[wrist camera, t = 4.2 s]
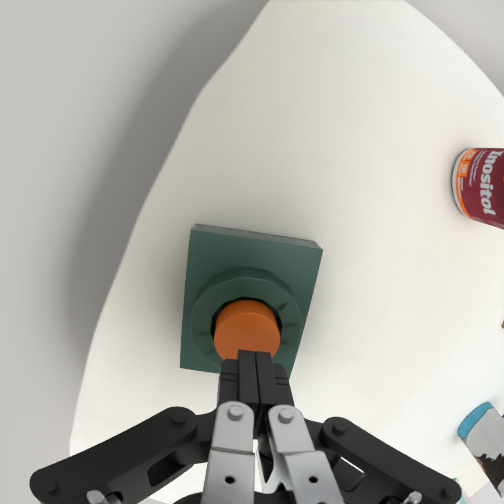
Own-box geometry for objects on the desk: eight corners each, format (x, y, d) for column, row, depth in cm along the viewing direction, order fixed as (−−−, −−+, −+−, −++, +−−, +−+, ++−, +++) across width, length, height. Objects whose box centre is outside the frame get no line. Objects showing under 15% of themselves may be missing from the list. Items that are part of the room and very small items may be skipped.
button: (219, 295, 17) (217, 308, 15) (281, 303, 17) (286, 317, 15) (213, 347, 17) (211, 363, 16) (270, 353, 18) (273, 370, 16)
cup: (450, 438, 29) (492, 504, 14) (474, 405, 27) (527, 471, 12) (474, 431, 29) (515, 487, 15) (496, 399, 28) (545, 455, 13)
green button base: (195, 223, 19) (185, 236, 15) (314, 241, 20) (332, 257, 16) (184, 351, 22) (175, 383, 18) (285, 363, 22) (293, 395, 18)
